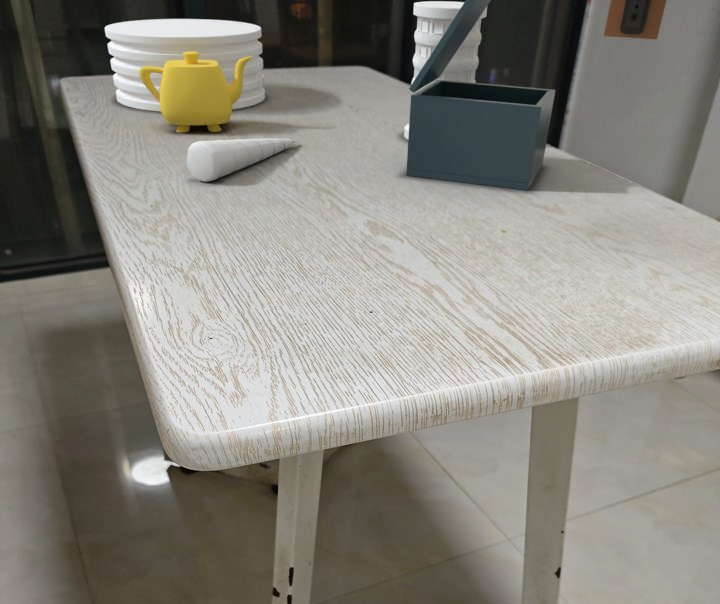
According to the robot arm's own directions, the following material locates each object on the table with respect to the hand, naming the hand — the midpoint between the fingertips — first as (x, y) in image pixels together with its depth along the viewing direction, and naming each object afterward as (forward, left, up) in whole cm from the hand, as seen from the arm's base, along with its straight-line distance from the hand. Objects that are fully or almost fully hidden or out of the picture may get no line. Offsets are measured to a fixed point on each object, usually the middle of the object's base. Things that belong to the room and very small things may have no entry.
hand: (632, 29), depth 70 cm
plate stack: (+46, -79, -20) cm, 94 cm away
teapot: (+44, -54, -20) cm, 73 cm away
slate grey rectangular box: (+6, -24, -19) cm, 32 cm away
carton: (0, 0, 0) cm, 0 cm away
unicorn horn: (+38, -31, -20) cm, 53 cm away
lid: (+9, -26, -2) cm, 27 cm away
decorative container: (+6, -44, -20) cm, 49 cm away
